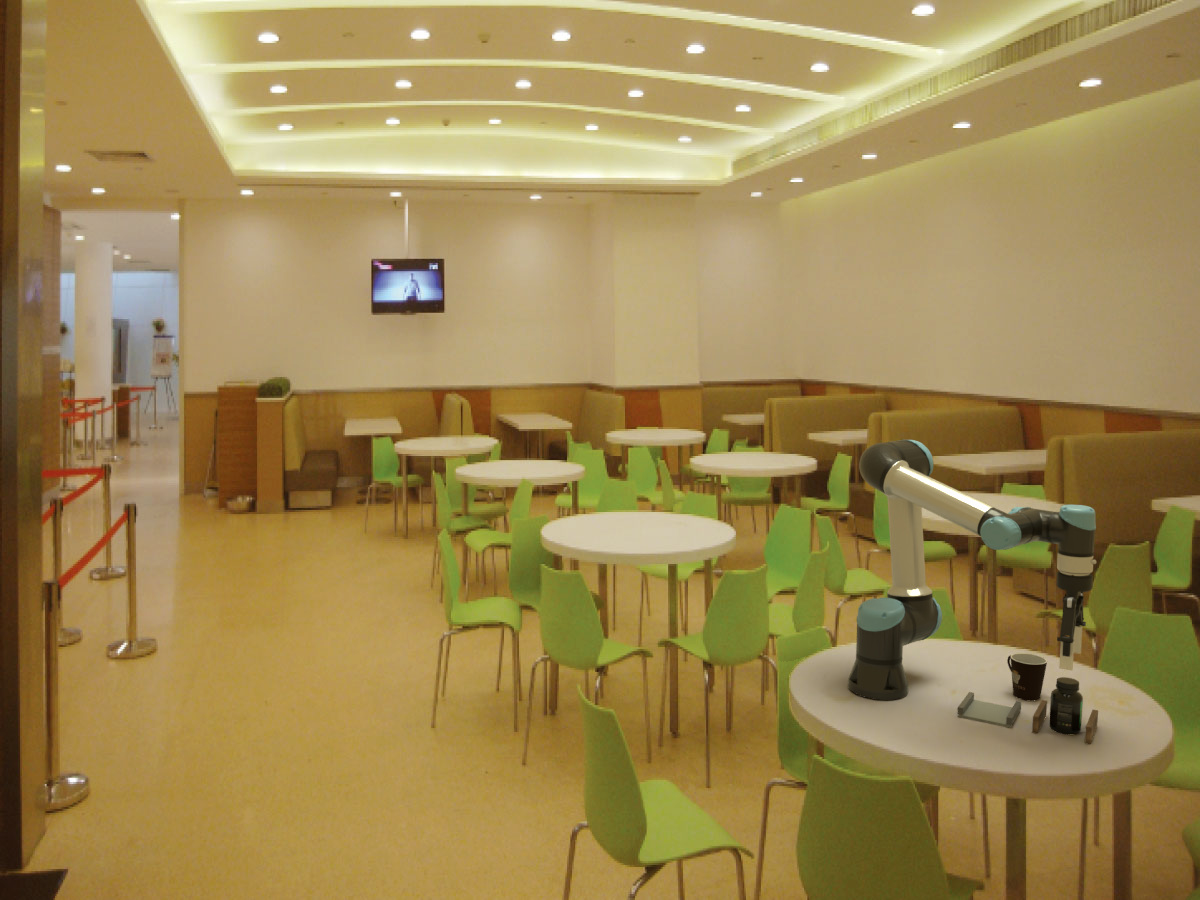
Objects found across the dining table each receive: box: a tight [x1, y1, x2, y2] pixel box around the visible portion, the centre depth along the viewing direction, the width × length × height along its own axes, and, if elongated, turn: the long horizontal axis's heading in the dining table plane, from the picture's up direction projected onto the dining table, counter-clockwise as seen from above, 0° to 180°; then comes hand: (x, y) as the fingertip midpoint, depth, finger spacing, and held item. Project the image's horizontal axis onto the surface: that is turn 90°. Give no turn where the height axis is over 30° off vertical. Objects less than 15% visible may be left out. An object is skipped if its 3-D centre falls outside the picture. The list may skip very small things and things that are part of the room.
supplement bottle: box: [1048, 676, 1084, 736], centre depth 231 cm, size 7×7×12 cm
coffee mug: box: [1006, 652, 1048, 702], centre depth 254 cm, size 12×9×10 cm
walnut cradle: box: [1031, 699, 1099, 745], centre depth 232 cm, size 12×12×4 cm
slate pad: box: [957, 691, 1022, 729], centre depth 241 cm, size 12×12×2 cm
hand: (1070, 660), depth 230 cm, fingers open, 13 cm apart
